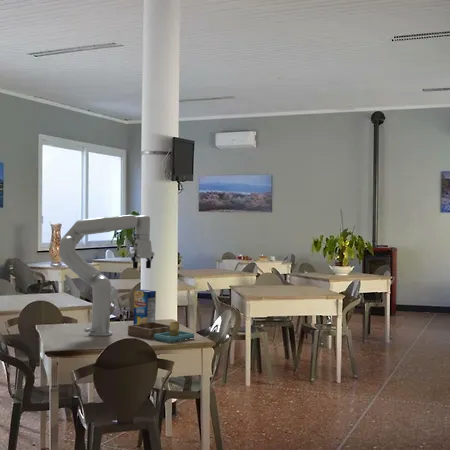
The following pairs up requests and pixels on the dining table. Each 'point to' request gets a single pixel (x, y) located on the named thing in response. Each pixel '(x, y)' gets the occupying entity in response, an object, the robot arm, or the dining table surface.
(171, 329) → the mustard cylinder
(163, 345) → the dining table surface
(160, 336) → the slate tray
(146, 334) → the brown wooden tray
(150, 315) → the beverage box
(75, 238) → the robot arm
